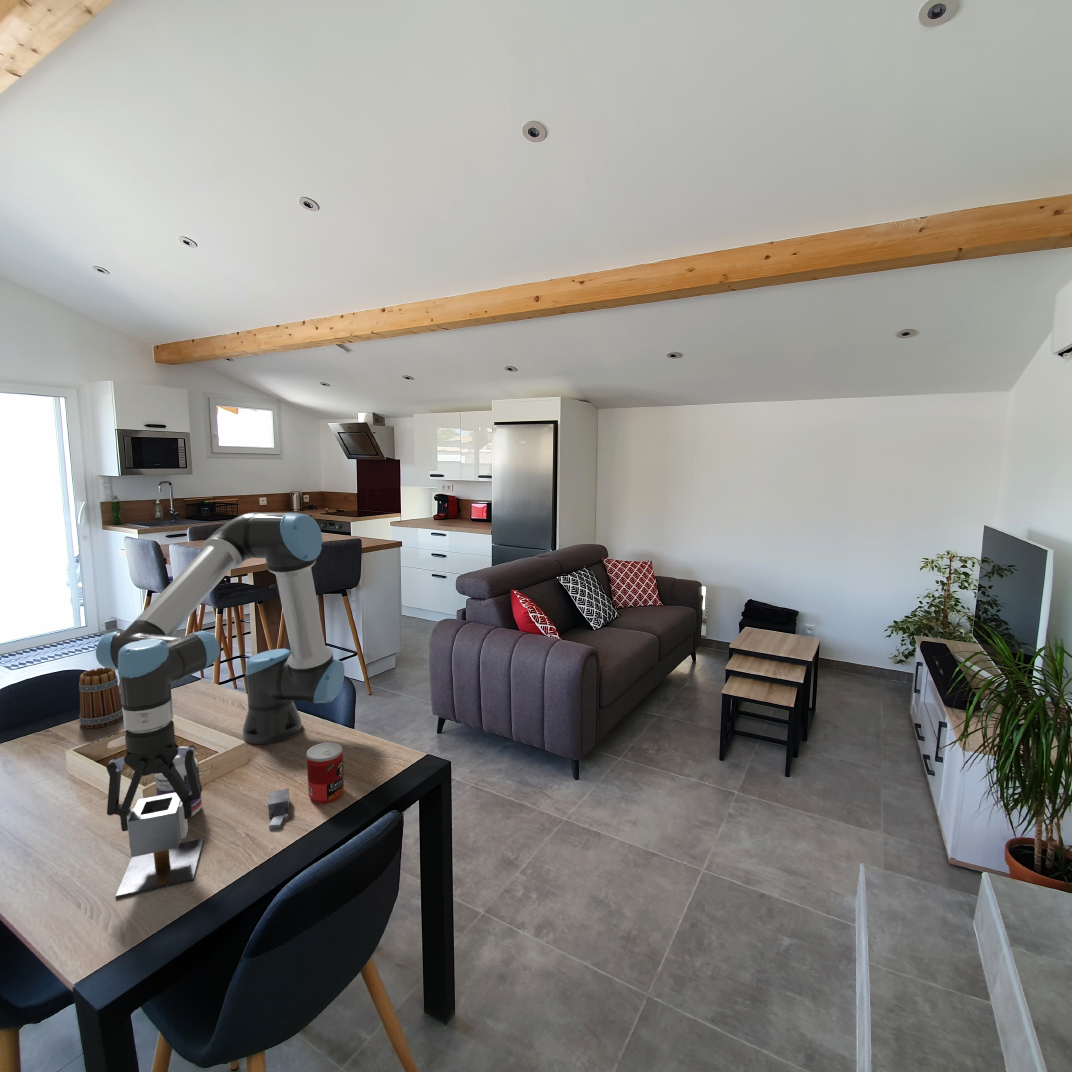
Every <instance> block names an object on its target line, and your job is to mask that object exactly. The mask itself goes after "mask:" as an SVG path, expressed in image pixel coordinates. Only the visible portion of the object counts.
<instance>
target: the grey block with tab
mask: <svg viewBox="0 0 1072 1072" xmlns="http://www.w3.org/2000/svg"><path fill="white" fill-rule="evenodd" d="M267 807H268V818H272V819H271V820H270V823H269V825H268V828H269V829H268V830H281V828H282V826H283V825H284V822H285V821H287V820H289V814H290V789H289V788H283V789H279V790H274V791H269V793H268V803H267Z"/></svg>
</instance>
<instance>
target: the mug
mask: <svg viewBox="0 0 1072 1072" xmlns="http://www.w3.org/2000/svg"><path fill="white" fill-rule="evenodd" d="M116 672H117V671H116V670H115V669H110V668H105V667H98V668H96V669H95V668H94V669H89V670H88V671H86V670H85V671H84V672H82V673H81V674H80V676H79V682H78V684H79V685H78V690H79V703H80V704H79V712H80V713H79V723H80V726H81V727H83V728H86V729H97V728H99V729H100V728H103V727H108V726H111V725H113V724H115V723H117V722H119V721H121V720H122V719H123V710H122V698H121V689H120V681H119V677H118V676H117V673H116Z"/></svg>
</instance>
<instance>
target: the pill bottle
mask: <svg viewBox="0 0 1072 1072" xmlns="http://www.w3.org/2000/svg"><path fill="white" fill-rule="evenodd" d="M178 747H179V748H188V747H189V746H178ZM194 759H195V763H196V767H197V771H198V774H199V775H200V767H199V761H198V758H195V757H194ZM173 762H174V764H175V767H176V769H177V771H178V772H179V774H180V776H181V777H182V779H183V780H184V782H185V784H186V785H187V787H188V788H189V790H190V791H191V788H190V784H189V780H188V776H187V773H186V769H185V761H183V760H181V757H180V756H179V755H177V756H176V757H175V759H174V760H173ZM154 779H155V789H156V796H159V795H165V794H170V793H176V792H175V791H174V789H173V787H172V786H171V784H170V783H169V781H168V780H167V778H165V777H164V776H163V774H162V773H159V774H154ZM202 801H203V800H202V794H201V795H200V798H199V799H194V800H193V801H192V809H193V812H192V815H191V818H192V817H194V816H195V815H196V814H197V813H199V812H200V811H201V808H202V804H203V802H202Z"/></svg>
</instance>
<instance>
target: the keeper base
mask: <svg viewBox="0 0 1072 1072" xmlns="http://www.w3.org/2000/svg"><path fill="white" fill-rule="evenodd" d="M203 845H204V837H203V838H198V839H194V840H188V841H184V842H180V845H179V847H178V848H174V849H169V850H164V851H160V852H155V853H150V854H146V855H141V856H136V857H132V858H130V860H129V863H128V865H127V868H126V870H125V872H124V874H123V877H122V880H121V882H120V884H119V887H118V889H117V892H116V894H115V900H119V899H122V898H127V897H130V896H135V895H139V894H143V893H147V892H151V891H155V890H160V889H165V888H168V887H172V886H173V887H174V886H177V885H181V884H185V883H186V884H187V883H190V882H193V881H194V880H195V877H196V872H197V869H198V865H199V861H200V856H201V852H202V848H203Z"/></svg>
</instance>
